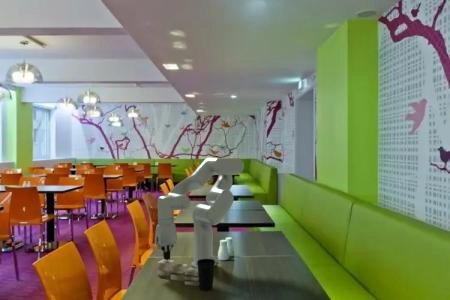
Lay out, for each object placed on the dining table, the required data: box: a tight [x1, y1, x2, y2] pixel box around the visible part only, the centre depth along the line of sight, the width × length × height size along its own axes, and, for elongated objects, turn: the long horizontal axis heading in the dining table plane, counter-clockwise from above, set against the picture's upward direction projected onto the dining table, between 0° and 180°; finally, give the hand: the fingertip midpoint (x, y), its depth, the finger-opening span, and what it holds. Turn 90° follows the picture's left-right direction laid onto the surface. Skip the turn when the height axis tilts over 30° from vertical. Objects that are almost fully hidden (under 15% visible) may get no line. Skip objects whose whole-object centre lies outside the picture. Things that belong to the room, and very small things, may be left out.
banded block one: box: [170, 262, 189, 282], centre depth 198 cm, size 6×6×6 cm
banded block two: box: [183, 267, 199, 287], centre depth 191 cm, size 6×6×6 cm
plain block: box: [156, 258, 175, 277], centre depth 204 cm, size 6×6×6 cm
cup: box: [197, 259, 216, 292], centre depth 183 cm, size 8×8×12 cm
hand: (166, 259), depth 205 cm, fingers closed
